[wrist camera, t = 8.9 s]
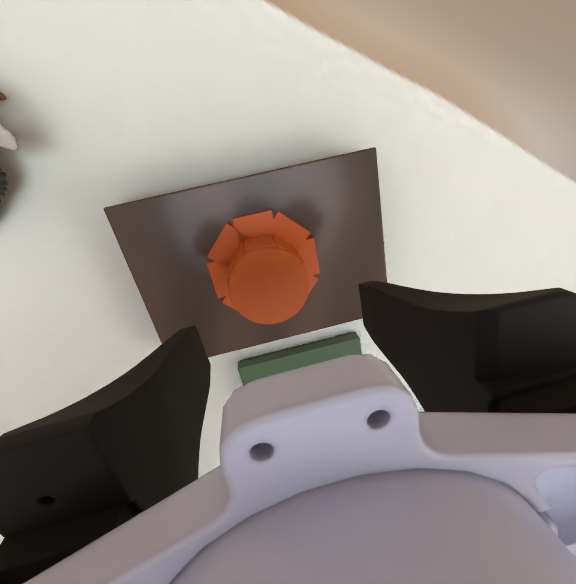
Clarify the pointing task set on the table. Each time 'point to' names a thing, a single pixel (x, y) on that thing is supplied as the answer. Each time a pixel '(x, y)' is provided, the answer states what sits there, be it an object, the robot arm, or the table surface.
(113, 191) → the table surface
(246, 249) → the hat
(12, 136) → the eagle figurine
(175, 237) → the stand
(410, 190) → the table surface
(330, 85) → the table surface
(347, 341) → the stand
